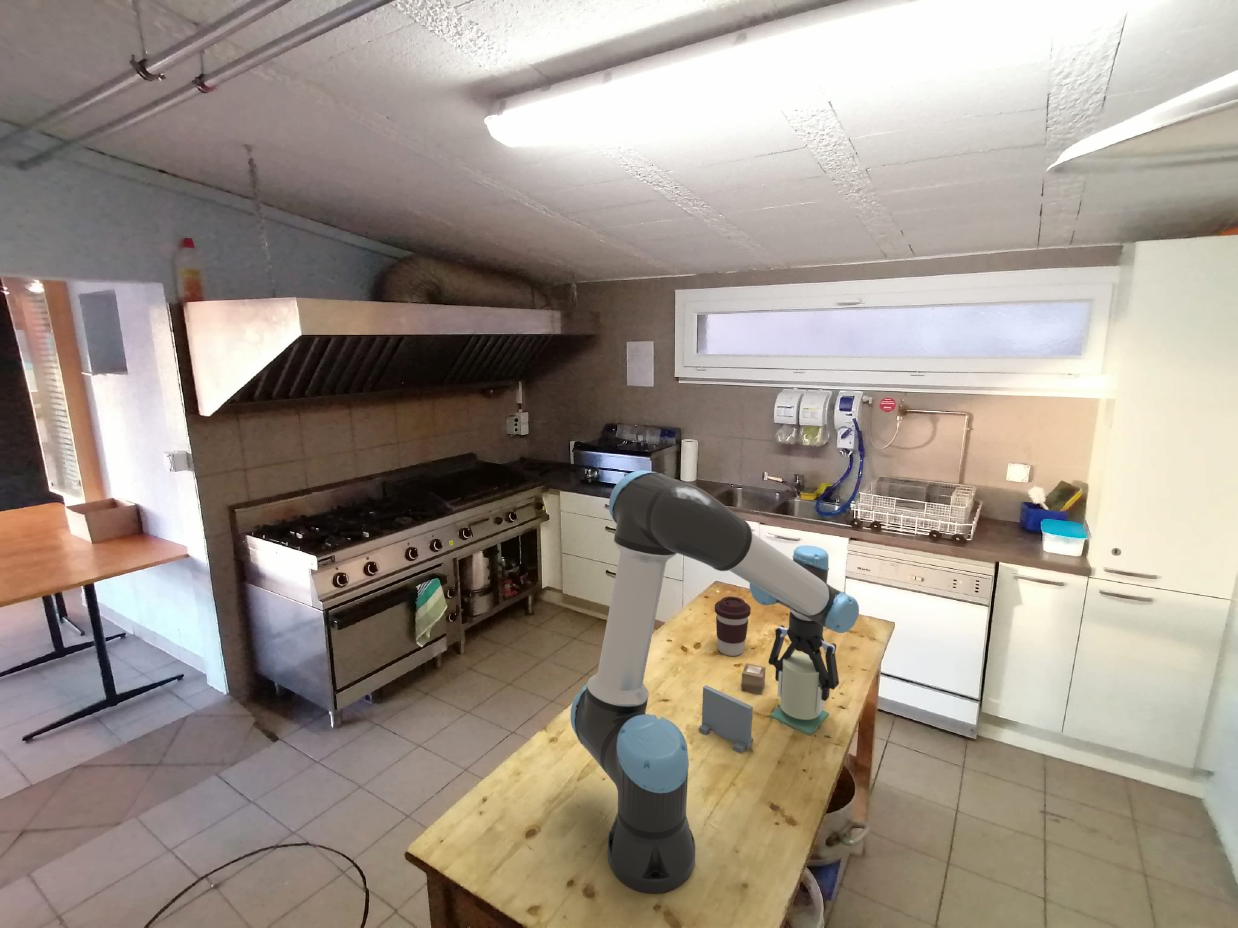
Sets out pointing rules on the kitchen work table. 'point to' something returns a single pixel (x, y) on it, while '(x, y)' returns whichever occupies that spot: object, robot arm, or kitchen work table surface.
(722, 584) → the kitchen work table surface
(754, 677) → the letter cube
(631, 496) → the robot arm
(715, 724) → the screen
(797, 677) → the can
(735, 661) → the kitchen work table surface
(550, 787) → the kitchen work table surface
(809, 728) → the mat
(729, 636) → the coffee cup
